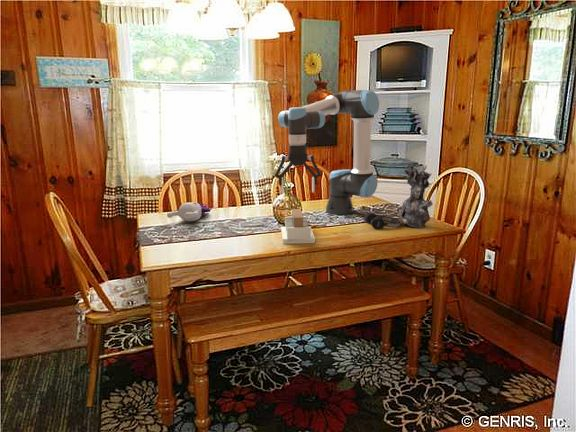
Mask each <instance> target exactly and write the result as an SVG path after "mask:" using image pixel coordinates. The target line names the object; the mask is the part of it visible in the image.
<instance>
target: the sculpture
mask: <svg viewBox="0 0 576 432" xmlns="http://www.w3.org/2000/svg"><path fill="white" fill-rule="evenodd" d="M405 168H406V169H404V173H405V175H407V176H406V180H407V181H406V182H407V184H408V185H409V186H410V188H409V190H410V196H409V197H408V198H407V199H405V200H404V201H403V203H402V204H401V205H402V206H401V208H400V211H399V215H398V220H400V221H401V223H402V225H403V226H405V227H409V228H414V229H421V228H425V227H426V224H427V222H430V220H431V217H430V216H431V215H430V213H429V208H430V207H432V206H433V202H432V200H427V201H426V200H425V198H424V195H425V190H426V189H427V188H429V187H430V183H429V182H430V181H429V179H430V177H431V176H432V174H433V173H429V172H427V171H426V169H427V164H426V165H425V166H423V165H422V167H421V169H420V171H418V170H417V169H418V168H417V165H416V166H415V165H413V168H411V166H410V165H409V164H405Z"/></svg>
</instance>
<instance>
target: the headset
mask: <svg viewBox="0 0 576 432" xmlns="http://www.w3.org/2000/svg"><path fill="white" fill-rule="evenodd" d="M362 209H363V210H364V211H365V212H366V213H365V214H364V216H363V220H364V222H366V223H367V224H370V225H371V227H372V228H373V229H375V230H382V229H384V227H385V228H394V229H395V228H399V227H400V225H401V223H402V221H401V220H400V219H399V218H396V217H392V216H385V215H377V214H375V213H374V212H368V211H367V210H366V207H365V206H364V205H362Z"/></svg>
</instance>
